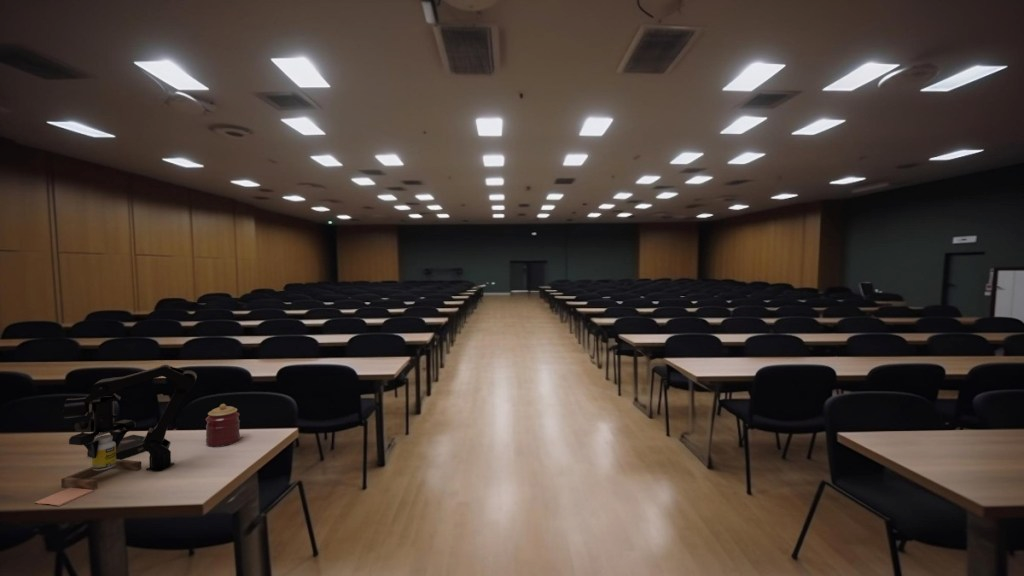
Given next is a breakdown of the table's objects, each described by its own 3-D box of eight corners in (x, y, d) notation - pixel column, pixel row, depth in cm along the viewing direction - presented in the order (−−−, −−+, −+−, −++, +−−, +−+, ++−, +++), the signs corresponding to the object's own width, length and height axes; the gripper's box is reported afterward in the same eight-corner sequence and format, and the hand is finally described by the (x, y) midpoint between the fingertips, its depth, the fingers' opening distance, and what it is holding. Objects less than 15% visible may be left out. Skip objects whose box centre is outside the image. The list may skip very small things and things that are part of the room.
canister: (246, 437, 201) (246, 400, 200) (225, 448, 188) (225, 409, 187) (221, 435, 202) (220, 399, 201) (198, 446, 189) (198, 407, 188)
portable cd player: (132, 442, 194) (132, 434, 193) (158, 447, 188) (158, 439, 188) (87, 457, 178) (87, 448, 178) (113, 463, 173) (113, 453, 173)
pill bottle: (101, 472, 156) (100, 441, 155) (87, 470, 157) (87, 439, 157) (120, 464, 162) (120, 434, 162) (107, 462, 163) (107, 433, 163)
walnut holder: (141, 468, 167) (141, 461, 167) (92, 490, 150) (92, 482, 150) (112, 466, 169) (112, 458, 169) (61, 487, 152) (61, 478, 152)
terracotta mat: (93, 491, 150) (93, 490, 150) (59, 506, 140) (59, 505, 140) (70, 488, 151) (70, 487, 151) (34, 503, 141) (34, 502, 141)
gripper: (112, 404, 169) (113, 443, 170) (55, 420, 151) (56, 463, 151) (136, 406, 168) (136, 445, 168) (81, 422, 149) (82, 465, 150)
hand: (104, 454), depth 159 cm, fingers closed on pill bottle, 6 cm apart
